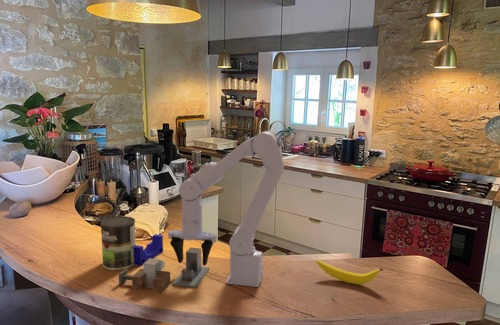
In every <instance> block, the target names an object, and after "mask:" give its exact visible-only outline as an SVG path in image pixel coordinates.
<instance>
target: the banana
mask: <svg viewBox="0 0 500 325" xmlns="http://www.w3.org/2000/svg"><path fill="white" fill-rule="evenodd" d="M315 262H316V264H317V265H318V266H319V268H320V269H321V270H322V271H323V272H325V273H326V274H327V275H329V276H330V277H333V278H335V279H336V280H338V281H341V282H344V283H348V284H352V285H365V284H367V283H369V282H371V281H372V280H374V279H375V278H376V277H377V276H378V275H379V274H380V272H381V271H382V272H383V268H382V267H381V268H379V269H375V270H372V271H369V272H366V273H354V272H351V271H348V270H347V271H346V270H344V269H340V268H337V267H335V266H332V265H330V264H328V263H326V262H323V261H321V260H317V259H315Z"/></svg>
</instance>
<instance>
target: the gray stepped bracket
mask: <svg viewBox="0 0 500 325" xmlns="http://www.w3.org/2000/svg"><path fill="white" fill-rule="evenodd" d="M201 267H202V247H200V248H199V247H189V248H188V249H187V250H186V251H185V268H186V269H185V268H182V270H181V273H182V281H190V282H192V281H193V279H194V278H195V277H196V276H197V275H198V274H199V273H200V271H201Z"/></svg>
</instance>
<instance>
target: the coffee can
mask: <svg viewBox="0 0 500 325" xmlns="http://www.w3.org/2000/svg"><path fill="white" fill-rule="evenodd" d="M100 228H101V229H100V231H101V246H102V247H101V248H102V249H101V250H102V252H101V253H102V266H103V268H104V269H105V270H108V271H109V270H110V271H120V270H121V271H123V270H124V269H125V270H127V269H129V268H132V267H133V266H136V265H135V264H134V246H135V245H137V244H136V219H135V218H133V217H131V216H125V215H124V216H113V217H108V218H105V219H103V220H101V221H100Z"/></svg>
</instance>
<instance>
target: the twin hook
mask: <svg viewBox="0 0 500 325" xmlns="http://www.w3.org/2000/svg"><path fill="white" fill-rule="evenodd" d="M165 262H166V261H165V260H162V259H160V258H153V259H150V258H149V259H148V260H147V261H146V262H145V263H144V264H143V265H142V266H143V269H144V288H147V289H153V278H154V277H155V276H156V275H157V274H158V273H159V272H160V271H163V269H164V268H165V267H166V266H165V264H166V263H165Z"/></svg>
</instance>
